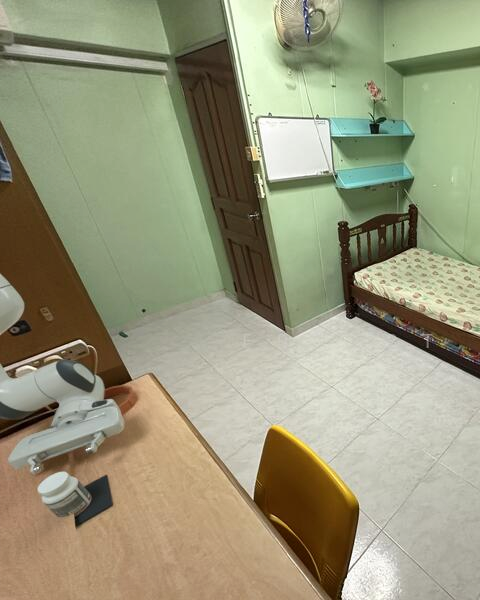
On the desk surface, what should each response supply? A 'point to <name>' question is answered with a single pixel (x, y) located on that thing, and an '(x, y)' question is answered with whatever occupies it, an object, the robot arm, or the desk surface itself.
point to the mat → (95, 500)
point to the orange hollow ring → (121, 390)
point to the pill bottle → (64, 494)
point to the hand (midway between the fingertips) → (64, 461)
